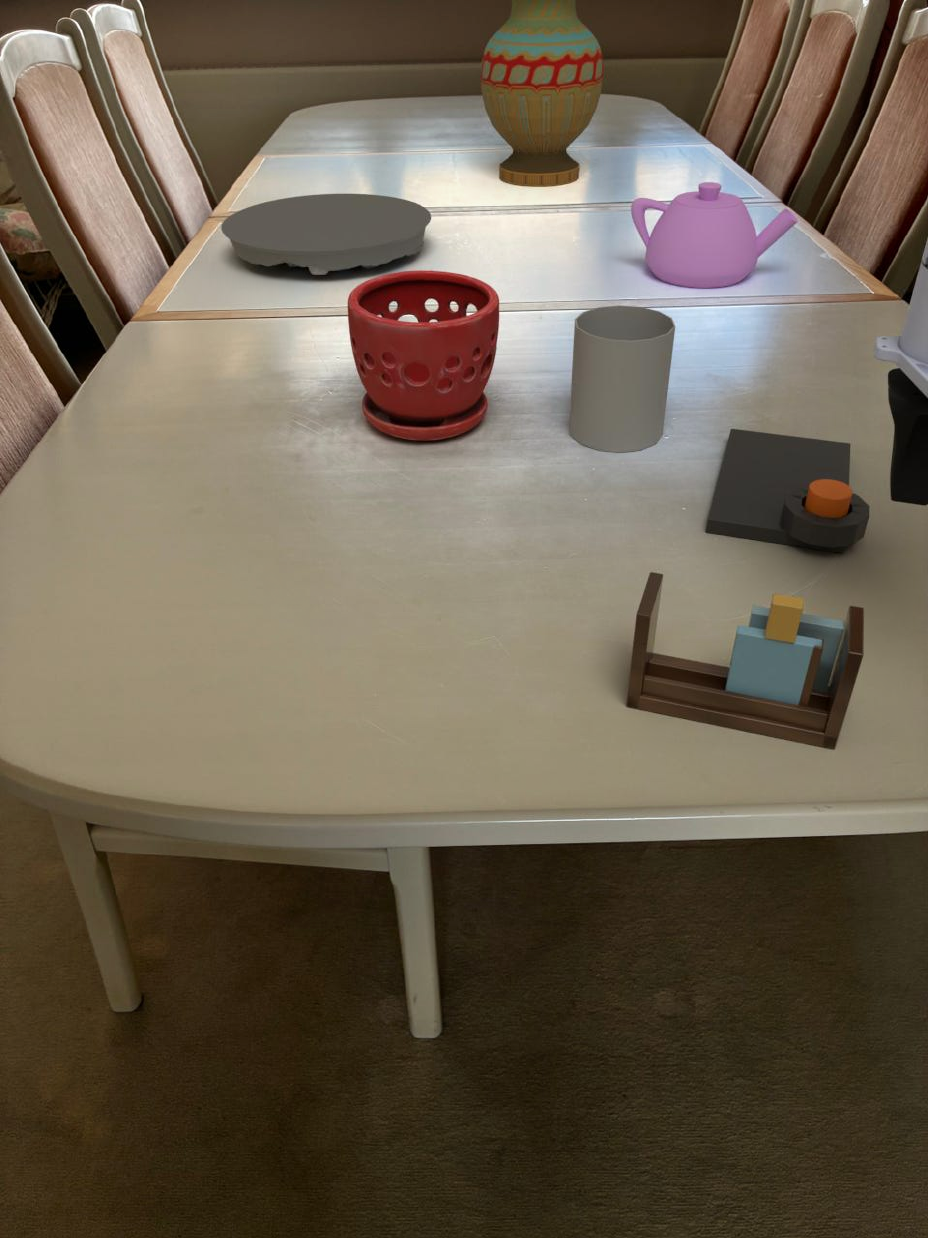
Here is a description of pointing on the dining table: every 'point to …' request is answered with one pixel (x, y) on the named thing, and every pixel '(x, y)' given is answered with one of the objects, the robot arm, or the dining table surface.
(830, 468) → the button block
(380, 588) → the dining table surface
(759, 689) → the pane
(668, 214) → the teapot
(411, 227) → the flat disc
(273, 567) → the dining table surface
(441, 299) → the flower pot
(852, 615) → the brown wooden rack
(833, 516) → the button
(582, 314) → the cup
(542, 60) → the vase
